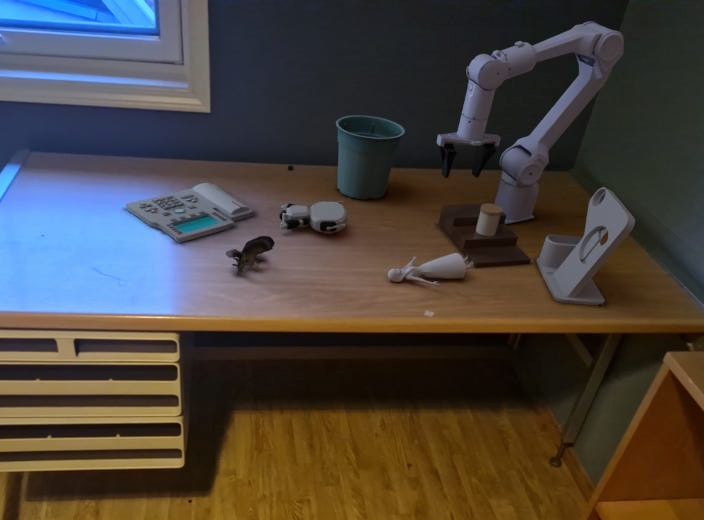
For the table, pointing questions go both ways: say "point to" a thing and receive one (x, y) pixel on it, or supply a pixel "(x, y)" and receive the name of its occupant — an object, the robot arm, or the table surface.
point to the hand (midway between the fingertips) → (459, 176)
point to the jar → (488, 219)
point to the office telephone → (191, 212)
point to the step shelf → (480, 237)
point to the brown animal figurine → (251, 252)
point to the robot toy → (314, 216)
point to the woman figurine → (433, 269)
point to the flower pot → (366, 154)
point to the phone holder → (585, 251)
